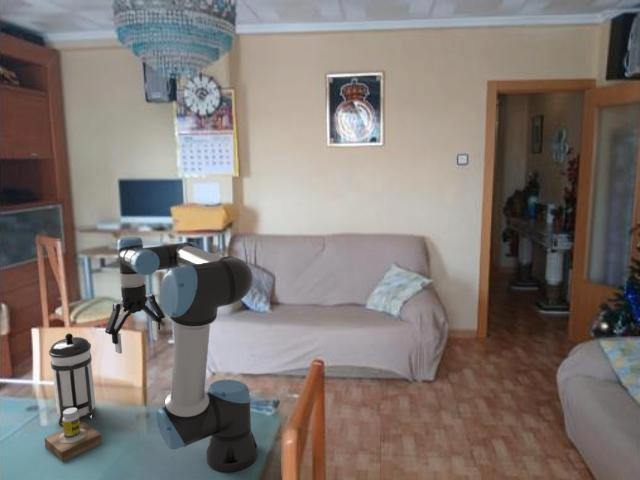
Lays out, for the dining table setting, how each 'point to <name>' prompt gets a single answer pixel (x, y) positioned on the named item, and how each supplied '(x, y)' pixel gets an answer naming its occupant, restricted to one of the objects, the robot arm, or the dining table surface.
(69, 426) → the supplement bottle
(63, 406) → the coffee press
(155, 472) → the dining table surface
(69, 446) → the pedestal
